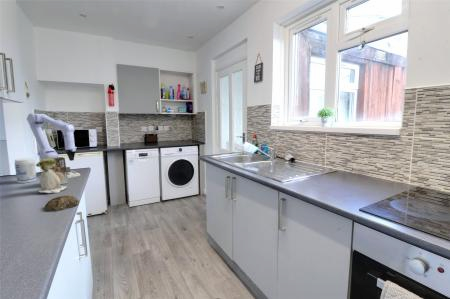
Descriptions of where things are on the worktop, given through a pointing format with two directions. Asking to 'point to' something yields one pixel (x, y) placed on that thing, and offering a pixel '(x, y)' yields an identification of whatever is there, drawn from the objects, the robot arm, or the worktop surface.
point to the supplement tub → (25, 170)
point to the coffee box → (60, 170)
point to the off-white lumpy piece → (49, 177)
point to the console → (72, 174)
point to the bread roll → (61, 203)
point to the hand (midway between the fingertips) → (71, 160)
